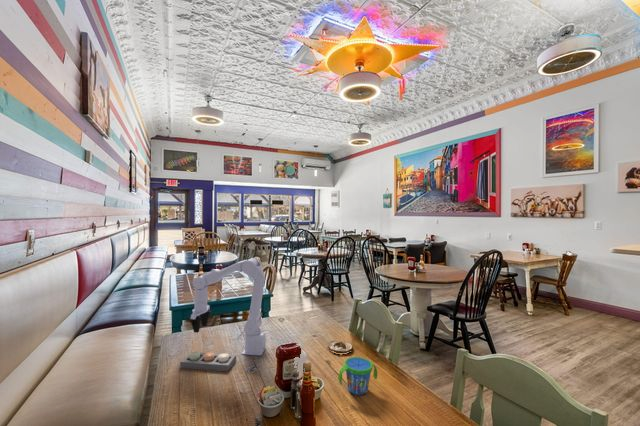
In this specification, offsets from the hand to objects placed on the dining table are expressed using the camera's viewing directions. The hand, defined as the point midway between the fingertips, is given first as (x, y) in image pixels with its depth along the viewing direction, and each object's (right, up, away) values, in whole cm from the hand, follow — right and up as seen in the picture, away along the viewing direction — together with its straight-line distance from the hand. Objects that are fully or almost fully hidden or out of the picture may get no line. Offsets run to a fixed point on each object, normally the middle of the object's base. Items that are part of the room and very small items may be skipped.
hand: (200, 329), depth 140 cm
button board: (+9, -10, -13) cm, 19 cm away
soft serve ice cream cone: (+48, -11, -28) cm, 57 cm away
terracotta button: (+9, -8, -13) cm, 18 cm away
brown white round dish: (+68, -12, +4) cm, 69 cm away
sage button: (+3, -8, -13) cm, 15 cm away
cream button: (+16, -8, -14) cm, 23 cm away
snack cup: (+72, -12, -30) cm, 79 cm away
